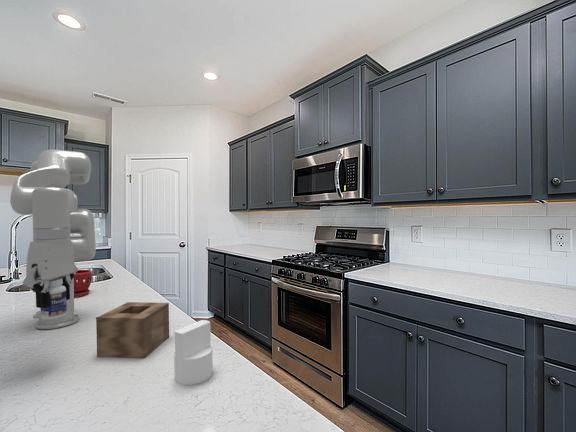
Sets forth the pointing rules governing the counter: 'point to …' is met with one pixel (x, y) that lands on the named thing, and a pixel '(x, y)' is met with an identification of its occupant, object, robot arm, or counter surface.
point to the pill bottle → (55, 300)
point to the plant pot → (82, 282)
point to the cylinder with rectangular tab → (193, 353)
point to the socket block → (132, 329)
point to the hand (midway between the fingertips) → (53, 302)
